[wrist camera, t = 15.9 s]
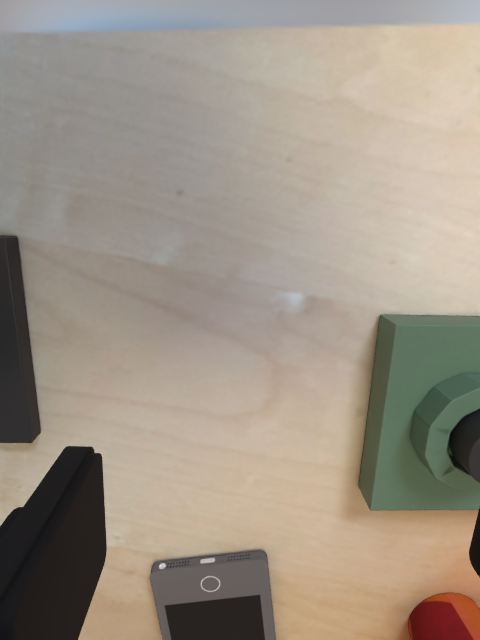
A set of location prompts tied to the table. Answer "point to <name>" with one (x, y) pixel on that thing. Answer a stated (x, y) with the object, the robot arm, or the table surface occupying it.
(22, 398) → the lever base
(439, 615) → the paper cup
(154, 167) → the table surface
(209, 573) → the smartphone
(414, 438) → the control block
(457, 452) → the button
